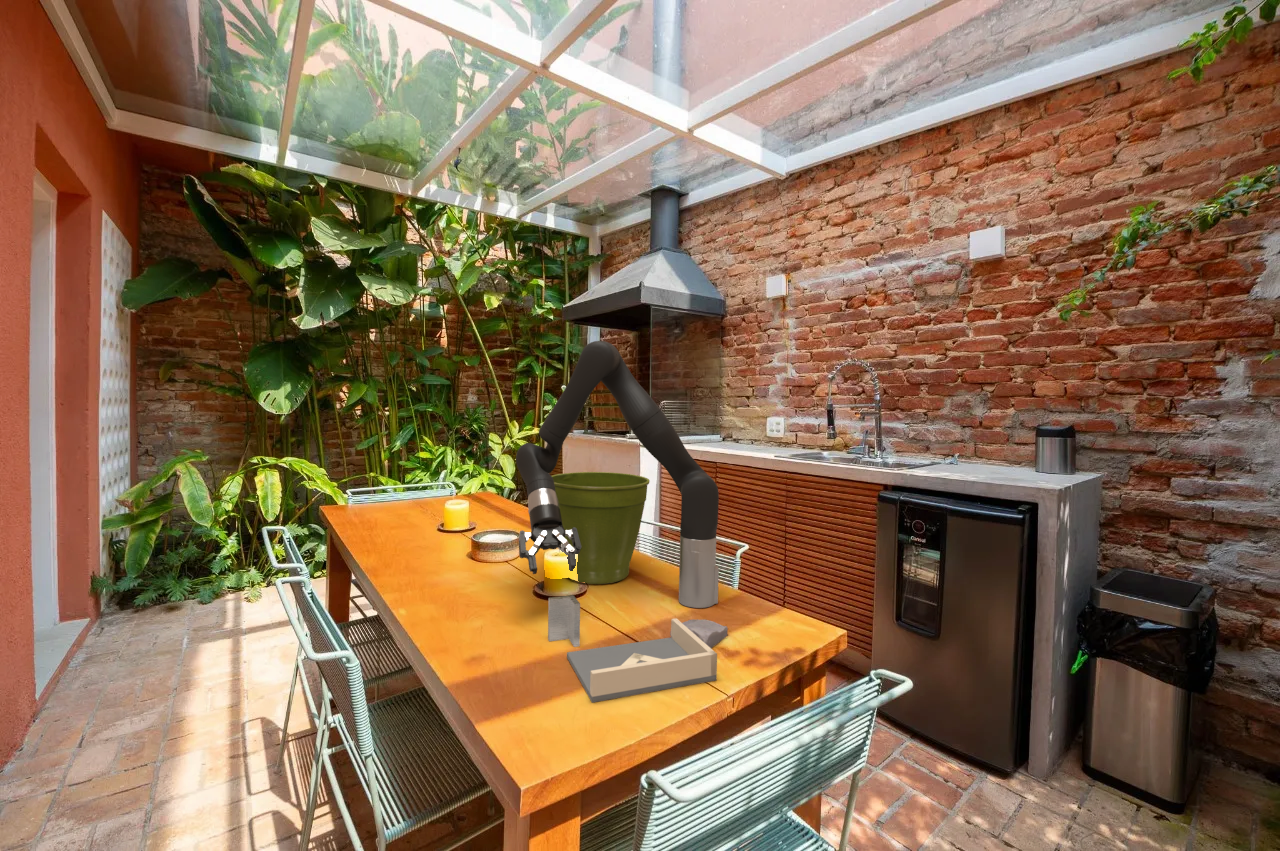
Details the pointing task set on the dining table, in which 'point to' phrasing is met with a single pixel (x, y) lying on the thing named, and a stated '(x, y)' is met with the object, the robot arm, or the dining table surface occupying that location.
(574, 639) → the bracket
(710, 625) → the stone block
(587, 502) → the plant pot
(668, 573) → the dining table surface
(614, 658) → the arena
